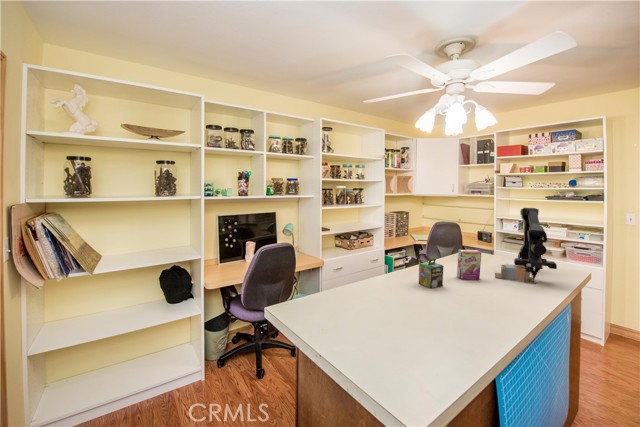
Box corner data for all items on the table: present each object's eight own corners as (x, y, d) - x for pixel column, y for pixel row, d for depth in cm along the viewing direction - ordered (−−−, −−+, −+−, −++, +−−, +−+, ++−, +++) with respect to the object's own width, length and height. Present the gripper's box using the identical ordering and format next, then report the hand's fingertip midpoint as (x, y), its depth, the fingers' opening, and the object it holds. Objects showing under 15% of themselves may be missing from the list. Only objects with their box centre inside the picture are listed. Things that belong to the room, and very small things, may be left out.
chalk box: (430, 281, 164) (431, 255, 162) (443, 286, 155) (444, 259, 154) (417, 283, 160) (418, 257, 158) (430, 288, 151) (431, 261, 150)
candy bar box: (459, 279, 166) (461, 251, 164) (456, 276, 171) (457, 249, 169) (480, 280, 165) (481, 251, 163) (476, 277, 170) (477, 249, 168)
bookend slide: (522, 277, 169) (523, 267, 169) (533, 278, 167) (534, 268, 166) (524, 282, 161) (525, 271, 160) (535, 283, 158) (536, 273, 157)
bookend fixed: (495, 273, 176) (495, 263, 176) (504, 274, 174) (505, 265, 173) (495, 278, 168) (495, 268, 167) (505, 279, 165) (506, 269, 165)
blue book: (504, 275, 173) (505, 263, 172) (513, 276, 171) (514, 265, 170) (505, 279, 166) (506, 267, 165) (514, 280, 164) (515, 268, 163)
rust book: (513, 276, 171) (514, 264, 170) (523, 277, 168) (523, 265, 168) (514, 280, 164) (515, 268, 163) (524, 281, 161) (525, 269, 161)
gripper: (516, 252, 159) (514, 280, 160) (559, 256, 149) (557, 285, 151) (514, 248, 168) (513, 274, 170) (555, 251, 159) (553, 279, 160)
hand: (533, 278), depth 162 cm, fingers closed
